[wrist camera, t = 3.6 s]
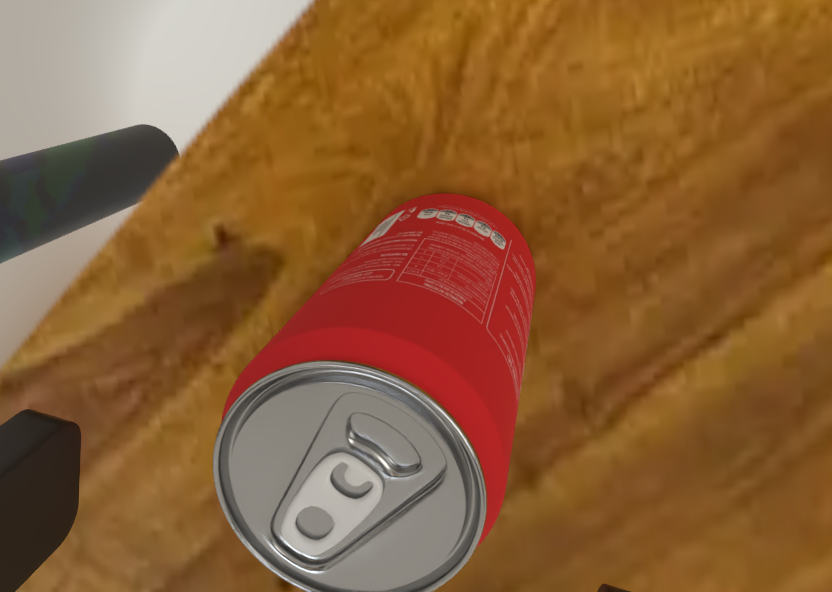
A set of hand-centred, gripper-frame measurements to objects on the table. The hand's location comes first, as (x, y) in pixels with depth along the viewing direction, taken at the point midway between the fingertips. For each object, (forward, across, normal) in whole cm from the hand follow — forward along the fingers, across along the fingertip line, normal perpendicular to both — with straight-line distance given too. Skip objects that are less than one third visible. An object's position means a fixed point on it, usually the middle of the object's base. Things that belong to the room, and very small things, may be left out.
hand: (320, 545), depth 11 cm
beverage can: (+14, 0, 0) cm, 14 cm away
